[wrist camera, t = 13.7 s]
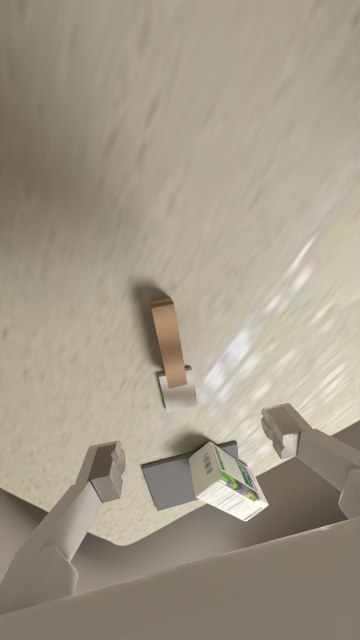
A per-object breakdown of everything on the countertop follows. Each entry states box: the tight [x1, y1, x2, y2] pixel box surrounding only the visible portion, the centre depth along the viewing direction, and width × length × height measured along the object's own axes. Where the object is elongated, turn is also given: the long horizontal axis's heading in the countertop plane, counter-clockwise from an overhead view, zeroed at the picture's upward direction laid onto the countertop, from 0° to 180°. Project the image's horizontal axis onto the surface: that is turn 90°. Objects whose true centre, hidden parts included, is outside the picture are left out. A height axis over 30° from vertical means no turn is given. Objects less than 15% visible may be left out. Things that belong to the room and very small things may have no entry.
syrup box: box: [189, 442, 268, 521], centre depth 31 cm, size 6×6×14 cm
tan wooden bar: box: [151, 298, 197, 413], centre depth 23 cm, size 18×5×4 cm, turn 9°
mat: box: [142, 441, 238, 511], centre depth 34 cm, size 18×14×1 cm
